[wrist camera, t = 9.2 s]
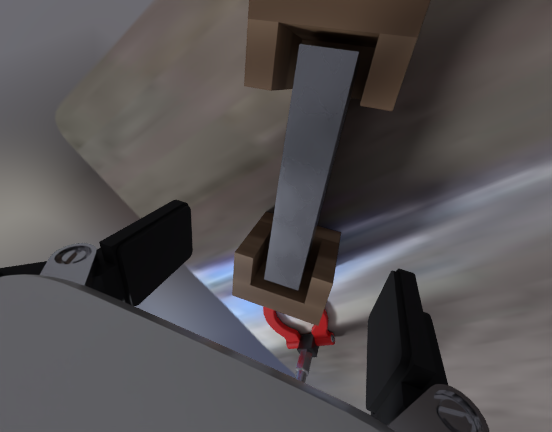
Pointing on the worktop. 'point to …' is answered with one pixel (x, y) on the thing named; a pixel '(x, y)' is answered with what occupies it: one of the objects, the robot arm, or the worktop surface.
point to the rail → (308, 156)
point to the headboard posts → (368, 87)
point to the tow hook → (302, 340)
